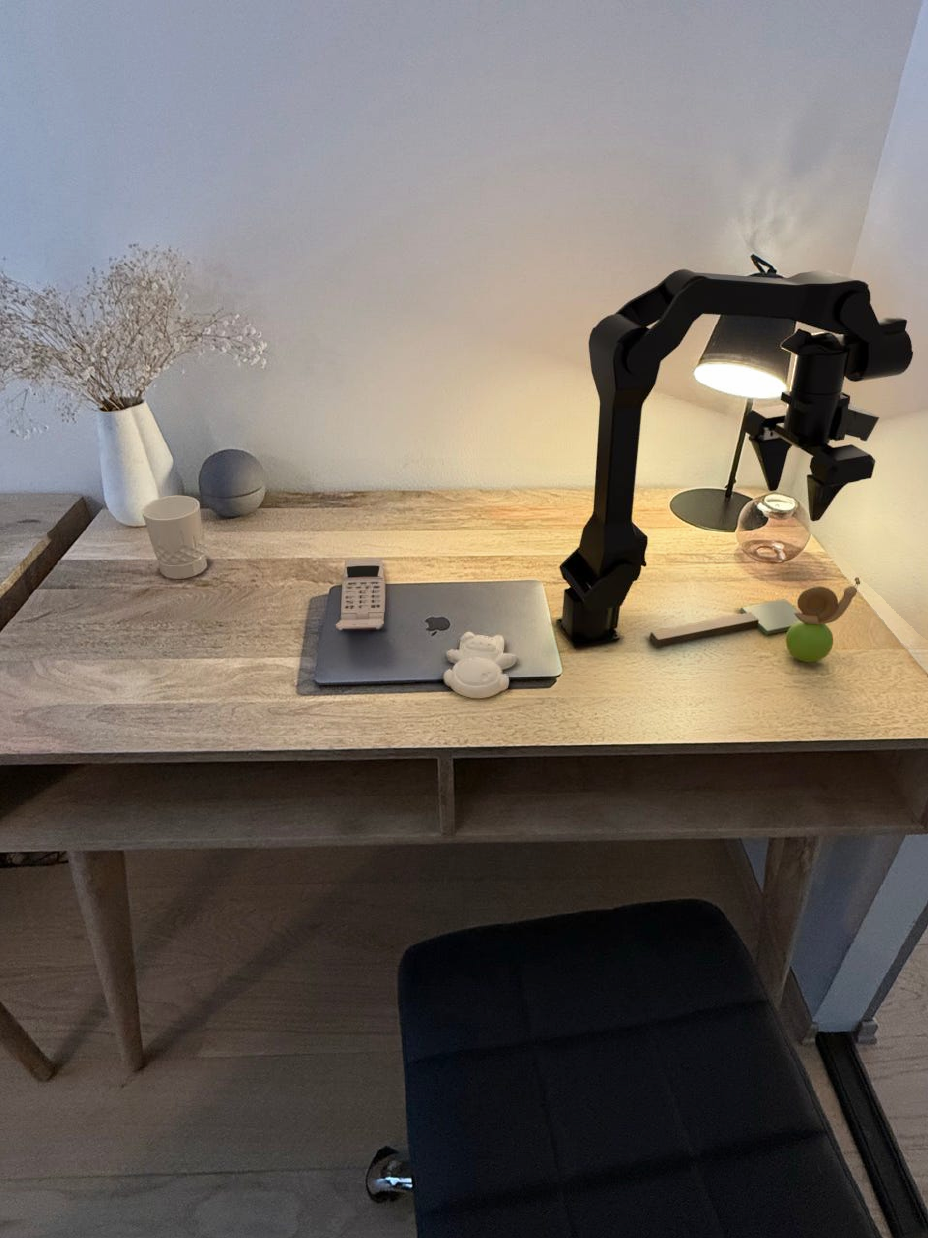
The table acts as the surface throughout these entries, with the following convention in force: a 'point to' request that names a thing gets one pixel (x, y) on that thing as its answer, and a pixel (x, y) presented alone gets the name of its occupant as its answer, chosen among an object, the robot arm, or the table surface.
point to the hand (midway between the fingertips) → (793, 504)
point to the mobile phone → (362, 594)
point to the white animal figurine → (479, 666)
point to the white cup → (176, 535)
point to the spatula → (732, 623)
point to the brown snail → (816, 622)
